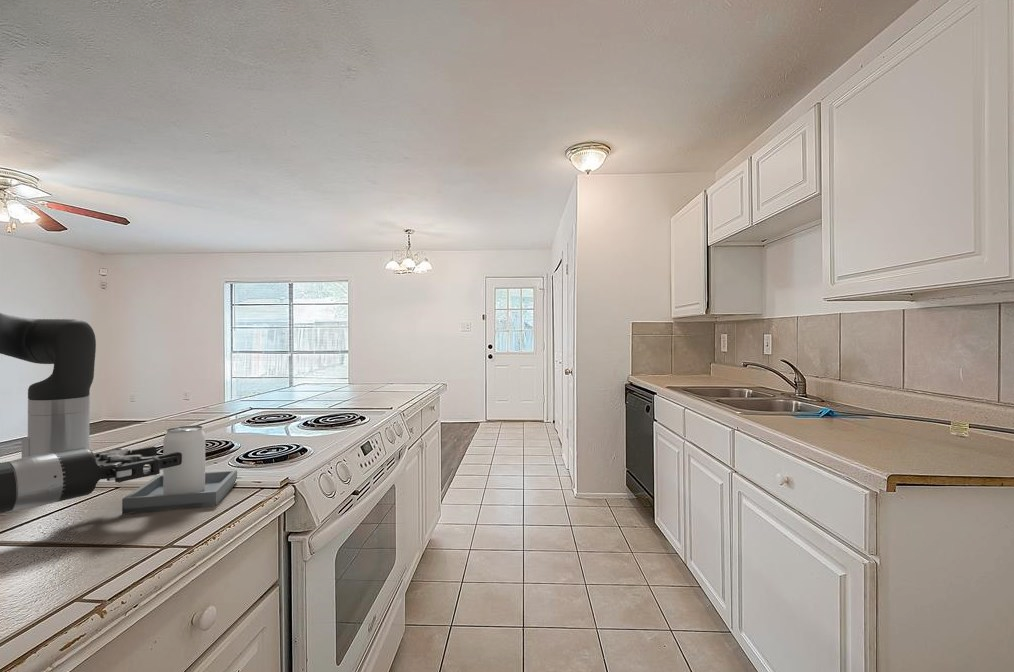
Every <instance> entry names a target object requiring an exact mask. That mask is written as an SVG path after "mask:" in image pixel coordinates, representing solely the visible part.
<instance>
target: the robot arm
mask: <svg viewBox="0 0 1014 672" xmlns="http://www.w3.org/2000/svg"><path fill="white" fill-rule="evenodd" d="M96 347H97V342H96V333H95V332H94V329H93V327H92V326H91V325H90V324H89V323H88V322H86V321H84V320H82V319H74V318H73V319H71V318H70V319H69V318H68V319H67V318H47V319H46V318H26V317H19V316H15V315H11V314H10V315H9V314H6V313H5V314H4V313H2V312H0V354H1V355H4V356H8V357H11V358H14V359H18V360H22V361H24V362H29V363H33V364H38V365H53V369H52V373H51V374H50V375H49V376H48V377H47V378H45V379H43V380H40V381H37V382H35V383H31V384H30V385H29V386H28V388H27V436H26V437H23V438H22V439H21V458H17V459H14V460H13V459H12V460H8V461H4V462H0V514H3V513H7V512H12V511H18V510H26V509H33V508H37V507H41V506H46V505H50V504H53V503H59V502H63V501H67V500H72V499H76V498H81V497H84V496H89V495H90V494H92V493H93V492H94V491H95V489H96V486H97V484H98V483H99V481H100V480H106V482H107V481H108V482H111V481H114V482H115V483H122V482H127V481H132V480H137V479H141V478H148V477H152V476H158V475H160V473H161V472H160V471H161V470H163V468H168V467H173V466H177V465H180V464H181V463H182V454H181V453H179V452H175V453H170V454H165V455H163V454H160V455H158V453H157V452H158V448H157V447H156V446H153V445H152V446H147V447H146V446H145V447H142V448H141V447H140V448H136V449H129V448H125V449H122V448H114V449H111V450H105V451H104V450H103V451H100V452H99V451H98V452H93V451H92V450H91V449H90V395H91V394H90V390H91V387H92V384H93V382H94V378H95V377H94V376H95V366H96V363H95V362H96V351H97V348H96ZM146 465H149V468H148V467H147V468H144V466H146Z"/></svg>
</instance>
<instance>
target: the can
mask: <svg viewBox="0 0 1014 672" xmlns="http://www.w3.org/2000/svg"><path fill="white" fill-rule="evenodd" d="M203 429H204V428H203V426H202V425H181V426H175V427H173V426H172V427H170V428H166V430H165V431H166V433H165V435H164V437H163V444H162V445H163V449H162V450H163V453H162V455H165V454H170V453H175V452H179V453H181V454H182V463H181V464H180V465H177V466H173V467H168V468H163V469H162V473H163V474H162V475H163V494H176V493H189V492H202V491H203V490H204V489H205V472H206V433H205V432H204V430H203Z"/></svg>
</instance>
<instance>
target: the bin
mask: <svg viewBox="0 0 1014 672" xmlns="http://www.w3.org/2000/svg"><path fill="white" fill-rule="evenodd" d="M236 479H237V480H238V470H237V469H235V470H234V469H233V470H222V471H220V470H219V471H205V489H204V490H203V491H202V492H189V493H176V494H163V474H157V475H155V477H153V478H151V479H149V480H148V481H147V482H146V483H144V484H143V485H141V486H140V487H138V488H137V489H135V490H133V491H132V492H131V493H129V494H128V495H126V496H124V497H123V498H122V500H121V501H122V502H121V509H122V510H121V513H122V514H134V513H135V514H136V513H145V512H147V513H148V512H156V511H157V512H160V511H171V510H181V509H183V510H184V509H185V510H186V509H195V508H207V507H216V506H218V504H219V503H220V502H221V501H222V500H223V499H224V498H225V497H226V495H227V494H228V493H229V492H230V491H231V490H232V489H233V487H234V486H235V485H234V483H235V481H236Z"/></svg>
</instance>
